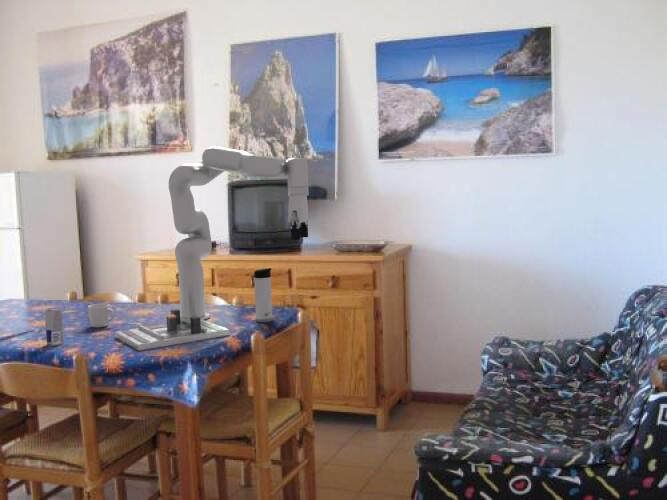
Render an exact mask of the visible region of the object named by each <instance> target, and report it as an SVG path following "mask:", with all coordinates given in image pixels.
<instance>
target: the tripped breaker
mask: <svg viewBox="0 0 667 500" xmlns="http://www.w3.org/2000/svg"><path fill="white" fill-rule="evenodd" d="M165 317H166V324H167V330H169V331H174V330H177V322H176V315H171V314H167V315H166V316H165Z"/></svg>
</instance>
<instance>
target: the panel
mask: <svg viewBox="0 0 667 500" xmlns="http://www.w3.org/2000/svg"><path fill="white" fill-rule="evenodd" d="M170 315H176V322H177V330H174V331H169V330H167V323H165V324H157V325H152V326H144V325H138V327H137V328H132V329H124V330H119V331H118V330H117V331H114V332H115V333H114V334H115V339H117V340H119V341H121V342H123V343H124V344H126V345H128V346H130V347H132V348H134V349H135V350H136V351H144V350H151V349H155V348H156V349H157V348H163V347H168V346H173V345H180V344H185V343H191V342H196V341H197V340H198V341H203V340H209V339H215V338H221V337H226V336H230V329H229V328H227V327H224V326H222V325H219V324H215V323H213V322H211V321H209V320H208V321H207V320H206V319H204V320H203V319H200V317H197V316H196V317H190V321H185V320H183V319H180V315H181V309H178V308H174V309H170Z"/></svg>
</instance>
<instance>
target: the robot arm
mask: <svg viewBox="0 0 667 500" xmlns="http://www.w3.org/2000/svg"><path fill="white" fill-rule="evenodd" d="M201 156H202V157H201V162H199V163H184V164H180V165H178V166H177V167H175V168H174V169H173V170H172V172H171V173H170V175H169V178H168V190H169V195H170V200H171V201H170V202H171V208H172V209H171V211H172V216H173V223H174V228H175V230H176V232H177V233H179V234H182V235H187V237H185V238H183V239H181V240H180V241H178V243H177V245H176V246H175V249H174V253H175V254H174V255H175V259H176V260H175V261H176V265H177V271H178V284H179V285H178V286H179V304H180V305H179V308H180V319H183V320H185V321H190V317H196V316H197V317H200V319H203V320H208V319H209V318H210V317H211V315H210V313H208V312H206V295H205V294H206V293H205V291H206V290H205V277H204V276H205V275H204V269H203V264H202V262H201V261H203V260H205V259H207V258H208V257H209V256H210V255H211V253H212V248H213V247H212V245H213V244H212V242H213V241H212V237H211V229H210V223H209V219H208V216H207V215H206V213H205V212H204V211H202V209H201V210H200V209H198V208H196V207H195V198H194V196H193V195H194V194H193V193H192V190H191V187H195V186H196V187H201V186H205V185H208V184H209V183H210V182H212V181H213V180H215V179H216V178H217V177H218V176H220V175H221V174H223V173H224V172H228V173H235V174H238V175H239V174H240V175H248V176H252V177H257V178H262V179H263V178H264V179H270V180H273V179H287V195H288V205H287V207H288V212H287V213H288V214H287V215H288V216H287V217H288V219H287V220H288V223H289V224H290V237H291V240H292V241H293V240H294V241H298V240H299V241H300V240H301V238H308V237H309V224H308V221H309V207H308V197H307V196H309V194H310V193H309V168H308V166H309V165H308V160H307V158H305V157H291V158H282V157H270V156H268V157H267V156H264V155H263V156H262V155H255V154H251V153H249V152H247V151H244V150H239V149H234V148H226V147H222V146H210V147H207V148H206V149H204V150H203V152H202V155H201Z"/></svg>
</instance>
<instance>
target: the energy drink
mask: <svg viewBox="0 0 667 500" xmlns="http://www.w3.org/2000/svg"><path fill="white" fill-rule="evenodd" d="M44 322H45V323H44V325H45V337H46V345H47V346H48V347H57V346H62V345H63V344H65V339H64V338H65V337H64V325H63V311H62V308H61V307H51V308H46V309H44Z"/></svg>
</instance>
